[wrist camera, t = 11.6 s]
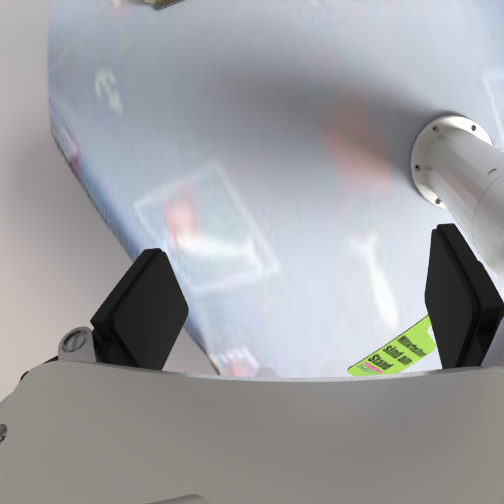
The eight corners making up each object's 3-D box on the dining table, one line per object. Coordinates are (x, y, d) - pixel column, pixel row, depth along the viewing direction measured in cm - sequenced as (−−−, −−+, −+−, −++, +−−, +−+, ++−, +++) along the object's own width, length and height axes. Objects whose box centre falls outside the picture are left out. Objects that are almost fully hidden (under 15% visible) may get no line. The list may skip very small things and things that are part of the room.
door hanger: (374, 384, 61) (471, 321, 47) (374, 386, 60) (472, 322, 47) (345, 369, 59) (449, 297, 45) (345, 371, 58) (449, 299, 45)
